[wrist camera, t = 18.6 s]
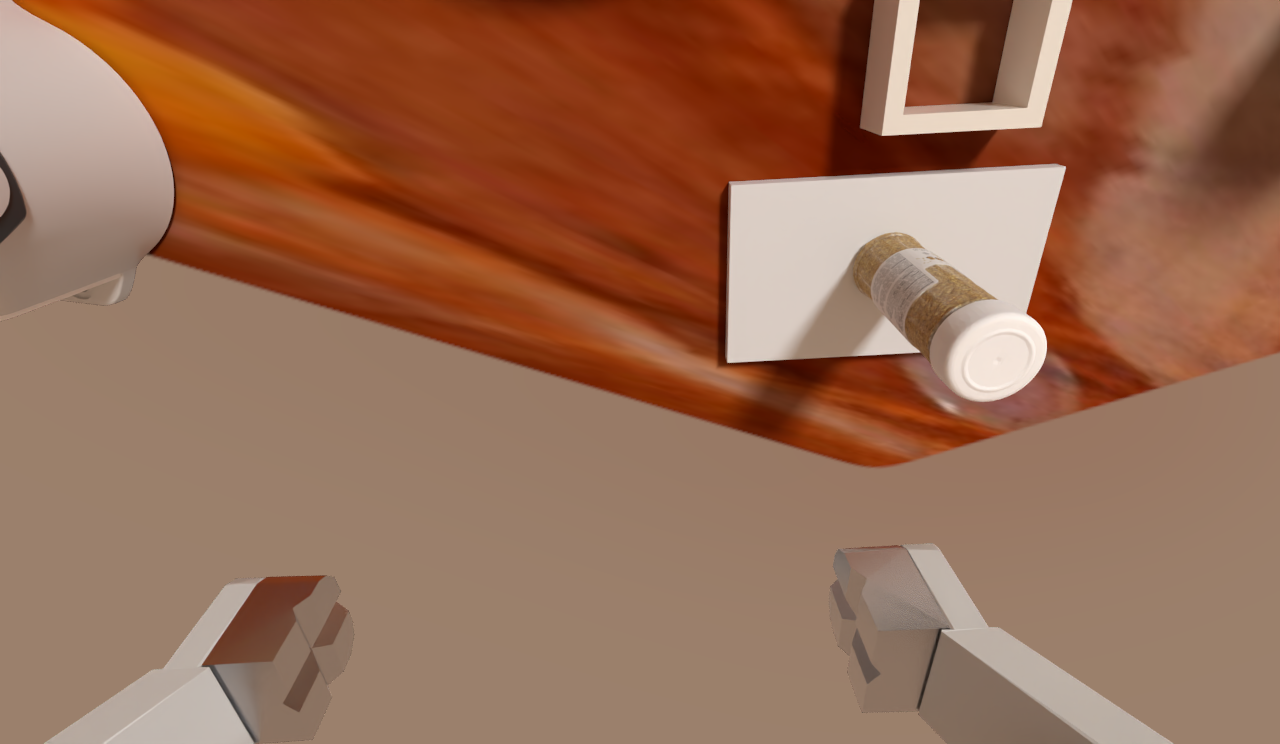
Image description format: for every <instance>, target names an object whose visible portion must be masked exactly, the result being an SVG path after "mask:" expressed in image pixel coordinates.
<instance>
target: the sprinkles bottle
mask: <svg viewBox="0 0 1280 744" xmlns="http://www.w3.org/2000/svg"><path fill="white" fill-rule="evenodd" d="M853 277H854V281H855V284H856V286H857V288H858V289H859V290H860V291H861V292H862V293H863V294H864V295H866V296H867V297H869V298H870V299H871V300H872V301H873V302H874V304H875V305H876V307H877V308H878V309H879V310H880V311H881V312H882V313H883V315H884V316H885V317H886V318H887V319H888V320H889V321H890V322H891V323H892V324H893V325H894V326H895V328H896V329H897V330H898V331H899V332H900V333H901V334H902V335H903V336H904V337H905V338H906V339H907V341H908V342H909V343H910V344H911V345H912V346H914V347H915V348H916V349H918V350H919V351H920V352H921V353H922V354H923V355H924V356H925V357H926V358H927V360H928V361H929V362H930V364H931V366H932V368H933V370H934V372H935V373H936V375H937V376H938V377H939V378H940V379H941V380H942V381H943V382H944V383H945V384H946V385H947V386H948V387H949V388H950V389H951V390H952V391H953V392H954V393H956V394H957V395H958V396H960V397H962V398H964V399H967V400H971V401H977V402H987V401H995V400H998V399H1002V398H1005V397H1007V396H1010V395H1012V394H1014V393H1015V392H1017V391H1019V390H1020V389H1022V388H1023V387H1024V386H1026V385H1027V384H1028V383H1029V382H1030V381H1031V380H1032V379H1033V378H1034V377H1035V375H1036V374H1037V373H1038V371H1039V370H1040V368H1041V366H1042V365H1043V362H1044V359H1045V356H1046V351H1047V341H1046V337H1045V334H1044V331H1043V329H1042V328H1041V326H1040V325H1039V324H1038V323H1037V322H1036V321H1035V320H1034V319H1033V318H1031V317H1030V316H1029V315H1027V314H1026V313H1025V312H1023V311H1022V310H1020V309H1019V308H1017V307H1016V306H1014V305H1012V304H1010V303H1008V302H1005V301H1001V300H998V299H996V298H995V297H994V296H992V295H991V294H989V293H988V292H986V291H985V290H984V289H982V288H981V287H980V286H978V285H977V284H976V283H975V282H974V281H972V280H971V279H970V278H969V277H967V276H966V275H965V274H963V273H962V272H960V271H959V270H957V269H956V268H955V267H953V266H952V265H950V264H949V263H948V262H946V261H945V260H943V259H942V258H941V257H939V256H938V255H936V254H935V253H933V252H931V251H929V250H927V249H925V248H924V247H922V246H921V244H920V243H919V242H918V241H917V240H916V239H915V238H913V237H912V236H910V235H907V234H904V233H899V232H894V233H886V234H883V235H881V236H878V237H876V238H874V239H872V240H871V241H870V242H868V243H867V244H866V245H865V246H864V247H863V249H862V250H861V251H860V252H859V254H858V256H857V257H856V260H855V262H854V266H853Z"/></svg>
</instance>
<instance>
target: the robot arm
mask: <svg viewBox="0 0 1280 744" xmlns="http://www.w3.org/2000/svg"><path fill="white" fill-rule="evenodd" d="M173 203H174V182H173V175H172V169H171V165H170V161H169V157H168V154H167V151H166V148H165V146H164V143H163V141H162V138H161V136H160V134H159V132H158V130H157V128H156V126H155V124H154V122H153V120H152V119H151V117H150V115H149V114H148V112H147V111H146V109H145V107H144V106H143V104H142V103H141V102H140V100H139V99H138V97H137V96H136V95H135V94H134V92H133V91H132V90H131V89H130V87H129V86H128V85H127V84H126V83H125V82H124V80H123V79H122V78H121V77H120V76H119V75H118V74H117V73H116V72H115V71H114V70H113V69H112V68H111V67H110V66H109V65H108V64H107V63H106V62H105V61H103V60H102V59H101V58H100V57H99V56H98V55H96V54H95V53H94V52H93V51H92V50H90V49H89V48H88V47H86V46H85V45H83V44H82V43H81V42H79V41H78V40H76V39H75V38H73V37H72V36H70V35H69V34H67V33H65V32H64V31H62V30H60V29H58V28H57V27H55V26H53V25H51V24H49V23H47V22H45V21H43V20H41V19H40V18H38V17H36V16H34V15H32V14H30V13H29V12H27V11H25V10H24V9H22V8H21V7H19V6H18V5H17V4H15V3H14V2H13V1H12V0H0V321H4V320H8V319H11V318H13V317H16V316H19V315H22V314H25V313H27V312H30V311H33V310H35V309H38V308H41V307H43V306H46V305H49V304H51V303H54V302H56V301H59V300H61V301H70V302H78V303H86V304H95V305H112V304H114V303H118V302H120V301H123V300H125V299H126V298H127V297H128V296H129V294H130V292H131V290H132V286H133V283H134V278H135V273H136V267H137V265H138V264H139V262H140V261H141V260H142V259H143V257H144V256H145V255H146V254H147V253H148V252H150V251H151V250H152V249H153V248H154V247H155V246H156V244H157V243H158V242H159V241H160V239H161V238H162V236H163V235H164V233H165V231H166V229H167V227H168V224H169V222H170V218H171V215H172V210H173ZM833 567H834V570H835V573H836V575H837V578H838V579H837V580H836V581H835V582H834V584H832V585H831V586H830V594H829V609H830V610H829V611H830V620H831V624H832V629H833V633H834V636H835V639H836V642H837V645H838V647H839V648H840V649H842V650H843V651H844V652H845V653H846V654H848V655H849V656H850V657H849V663H848V670H847V673H848V676H849V679H850V682H851V684H852V687H853V690H854V693H855V696H856V698H857V701H858V704H859V707H860V709H861V712H862V713H868V712H915V711H919V713H918V715H919V716H920V717H921V718H922V719H923V720H924V721H925V722H926V723H927V724H928V725H929V726H930V727H931V728H932V729H933V730H934V731H935V732H936V733H937V734H938V735H939V736H940V737H941V738H942V739H943V740H944V741H945V742H946V743H947V744H1173V743H1172V742H1170V741H1169V740H1167V739H1165V738H1164V737H1163V736H1161V735H1160V734H1158V733H1157V732H1155V731H1154V730H1152V729H1151V728H1149V727H1148V726H1146V725H1145V724H1143V723H1142V722H1140V721H1139V720H1137V719H1136V718H1134V717H1133V716H1131V715H1129V714H1128V713H1127V712H1125V711H1124V710H1122V709H1121V708H1119V707H1118V706H1116V705H1115V704H1113V703H1112V702H1110V701H1109V700H1107V699H1105V698H1104V697H1103V696H1101V695H1100V694H1098V693H1097V692H1095V691H1094V690H1092V689H1091V688H1089V687H1088V686H1086V685H1085V684H1083V683H1082V682H1080V681H1079V680H1077V679H1076V678H1074V677H1073V676H1071V675H1070V674H1068V673H1067V672H1065V671H1064V670H1062V669H1061V668H1059V667H1058V666H1056V665H1055V664H1053V663H1052V662H1050V661H1049V660H1047V659H1046V658H1044V657H1043V656H1041V655H1039V654H1038V653H1037V652H1035V651H1034V650H1032V649H1031V648H1029V647H1028V646H1026V645H1025V644H1023V643H1022V642H1020V641H1019V640H1017V639H1016V638H1014V637H1012V636H1011V635H1010V634H1008V633H1006V632H1005V631H1004V630H1002V629H1001V628H999V627H998V628H997V627H994V628H993V627H991V628H989V627H988V625H987V624H986V622H985V621H984V619H983V618H982V616H981V614H980V613H979V611H978V610H977V608H976V606H975V605H974V603H973V602H972V600H971V599H970V597H969V595H968V594H967V592H966V591H965V589H964V587H963V586H962V584H961V583H960V581H959V580H958V578H957V576H956V575H955V573H954V571H953V570H952V568H951V567H950V565H949V564H948V562H947V560H946V559H945V557H944V556H943V554H942V553H941V551H940V549H939V548H938V547H937V546H935V545H934V544H932V543H930V544H913V545H901V546H897V545H896V546H879V547H862V548H846V549H838V551H837V552H836V554H835V558H834V564H833ZM340 593H341V590H340V588H339V586H338V584H337V581H336V579H335V577H332V576H292V577H291V576H288V577H266V578H236V579H235V580H233V581H231V582H229V583H228V584H226V585H225V586H224V588H223V589H222V590H221V592H220V593H219V594H218V596H217V597H216V598H215V600H214V601H213V602H212V604H211V605H210V606H209V608H208V609H207V610H206V612H205V613H204V614H203V616H202V617H201V619H200V620H199V621H198V623H197V624H196V625H195V627H194V628H193V629H192V631H191V632H190V633H189V635H188V636H187V637H186V639H185V640H184V641H183V643H182V644H181V645H180V647H179V648H178V649H177V651H176V652H175V654H174V655H173V656H172V658H171V659H170V660H169V662H168V663H167V664H166V666H165V667H164V668H163V669H155V670H152V671H150V672H149V673H148V674H146V675H144V676H143V677H141V678H140V679H138V680H137V681H135V682H134V683H132V684H131V685H129V686H128V687H127V688H125V689H124V690H122V691H121V692H119V693H118V694H116V695H115V696H113V697H112V698H110V699H109V700H107V701H106V702H104V703H103V704H102V705H100V706H98V707H97V708H95V709H94V710H93V711H91V712H90V713H88V714H87V715H85V716H84V717H82V718H81V719H79V720H78V721H77V722H75V723H73V724H72V725H71V726H69V727H68V728H66V729H65V730H63V731H62V732H60V733H59V734H57V735H56V736H54V737H53V738H51V739H50V740H48V741H47V742H45V743H44V744H266V743H278V742H290V741H304V740H313V739H314V736H315V734H316V732H317V730H318V728H319V725H320V723H321V721H322V719H323V717H324V714H325V712H326V710H327V708H328V705H329V703H330V701H331V699H332V696H331V693H330V689H329V686H328V684H330V683H331V682H332V681H333V680H334V679H336V678H337V677H338V676H339V675H340V674H341V673H342V672H344V670H345V667H346V665H347V663H348V660H349V658H350V656H351V652H352V646H353V640H354V628H353V621H352V618H351V615H350V612H349V611H348V610H347V609H346V608H344V607H343V606H341V605H340V604H339V603H337V602H336V601H337V599H338V597H339V594H340Z"/></svg>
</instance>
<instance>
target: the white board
mask: <svg viewBox="0 0 1280 744" xmlns="http://www.w3.org/2000/svg"><path fill="white" fill-rule="evenodd" d="M1065 169H1066V167H1065V166H1061V165H1058V164H1044V165H1026V166H1008V167H990V168H972V169H954V170H936V171H917V172H899V173H881V174H863V175H845V176H827V177H809V178H791V179H773V180H755V181H737V182H729V189H728V241H727V292H726V344H725V357H726V360H727V363H734V362H753V361H771V360H790V359H808V358H827V357H845V356H864V355H882V354H901V353H919V352H920V351H919V350H918V349H916V348H915V347H914V346H912V345H911V344H910V343H909V342H908V341H907V339H906V338H905V337H904V336H903V335H902V334H901V333H900V332H899V331H898V330H897V329H896V328H895V326H894V325H893V324H892V323H891V322H890V321H889V320H888V319H887V318H886V317H885V316H884V315H883V313H882V312H881V311H880V310H879V309H878V308H877V307H876V305H875V304H874V302H873V301H872V300H871V299H870V298H869V297H867V296H866V295H864V294H863V293H862V292H861V291H860V290H859V289H858V288H857V286H856V284H855V281H854V277H853V266H854V262H855V260H856V257H857V256H858V254H859V252H860V251H861V250H862V249H863V247H864V246H865V245H866V244H867V243H868V242H870V241H871V240H872V239H874V238H876V237H878V236H881V235H883V234H886V233H894V232H899V233H904V234H907V235H910V236H912V237H913V238H915V239H916V240H917V241H918V242H919V243H920V244H921V246H922V247H924V248H925V249H927V250H929V251H931V252H933V253H935V254H936V255H938V256H939V257H941V258H942V259H943V260H945V261H946V262H948V263H949V264H950V265H952V266H953V267H955V268H956V269H957V270H959V271H960V272H962V273H963V274H965V275H966V276H967V277H969V278H970V279H971V280H972V281H974V282H975V283H976V284H977V285H978V286H980V287H981V288H982V289H984V290H985V291H986V292H988V293H989V294H991V295H992V296H994V297H995V298H996V299H998V300H1001V301H1005V302H1008V303H1010V304H1012V305H1014V306H1016V307H1017V308H1019V309H1020V310H1022V311H1023V312H1025V313H1026V312H1027V308H1028V304H1029V301H1030V297H1031V293H1032V290H1033V286H1034V282H1035V279H1036V275H1037V271H1038V268H1039V264H1040V260H1041V257H1042V253H1043V249H1044V246H1045V242H1046V238H1047V235H1048V231H1049V227H1050V224H1051V220H1052V216H1053V213H1054V209H1055V206H1056V202H1057V198H1058V195H1059V191H1060V187H1061V184H1062V180H1063V176H1064V173H1065Z"/></svg>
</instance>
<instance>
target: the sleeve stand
mask: <svg viewBox="0 0 1280 744" xmlns="http://www.w3.org/2000/svg"><path fill="white" fill-rule="evenodd" d="M919 2H920V0H874V8H873V17H872V26H871V34H870V43H869V52H868V61H867V69H866V78H865V87H864V95H863V104H862V113H861V122H860V128H862V129H864V130H867V131H870V132H873V133H875V134H878V135H881V136H888V135H906V134H924V133H942V132H960V131H978V130H997V129H1014V128H1032V127H1041V126H1042V121H1043V117H1044V113H1045V109H1046V105H1047V101H1048V97H1049V93H1050V89H1051V85H1052V81H1053V77H1054V73H1055V69H1056V65H1057V61H1058V57H1059V53H1060V49H1061V45H1062V41H1063V37H1064V32H1065V28H1066V24H1067V20H1068V16H1069V12H1070V8H1071V4H1072V0H1014V1H1013V5H1012V10H1011V15H1010V20H1009V25H1008V29H1007V34H1006V39H1005V44H1004V49H1003V54H1002V58H1001V63H1000V68H999V73H998V78H997V82H996V87H995V92H994V97H993V102H987V103H970V104H952V105H934V106H916V107H904V106H905V99H906V92H907V85H908V78H909V71H910V64H911V57H912V50H913V44H914V37H915V30H916V23H917V16H918V9H919Z"/></svg>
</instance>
